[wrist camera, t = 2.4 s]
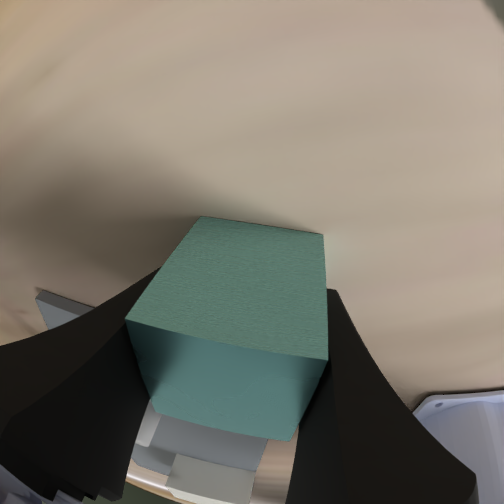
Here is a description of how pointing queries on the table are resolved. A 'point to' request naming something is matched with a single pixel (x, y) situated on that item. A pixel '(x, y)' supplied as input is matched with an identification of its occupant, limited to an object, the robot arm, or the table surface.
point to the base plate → (167, 419)
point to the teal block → (235, 328)
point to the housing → (209, 482)
